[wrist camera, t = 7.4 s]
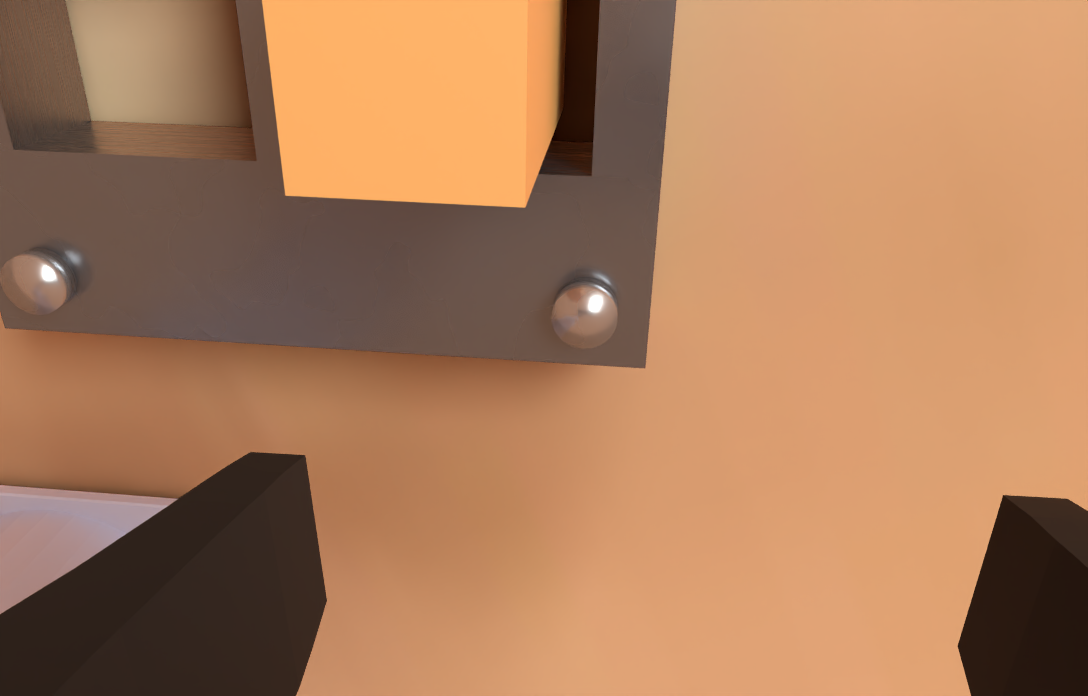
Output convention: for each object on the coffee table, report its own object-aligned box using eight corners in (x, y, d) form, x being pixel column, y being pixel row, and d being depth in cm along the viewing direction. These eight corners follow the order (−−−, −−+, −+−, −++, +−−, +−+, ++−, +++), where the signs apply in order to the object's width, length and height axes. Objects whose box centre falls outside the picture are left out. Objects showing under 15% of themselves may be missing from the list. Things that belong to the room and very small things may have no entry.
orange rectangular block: (563, 108, 17) (525, 207, 11) (404, 101, 17) (285, 195, 11) (568, -73, 15) (528, -66, 10) (394, -77, 16) (253, -75, 10)
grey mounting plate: (643, 314, 19) (645, 381, 16) (76, 281, 20) (-12, 338, 17) (701, -390, 13) (718, -469, 10) (-88, -388, 14) (-256, -459, 11)
